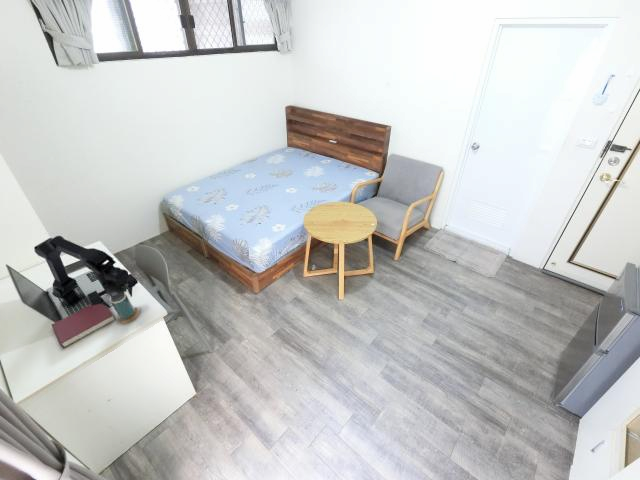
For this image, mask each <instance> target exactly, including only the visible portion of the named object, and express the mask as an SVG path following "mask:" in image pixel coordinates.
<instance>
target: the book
mask: <svg viewBox="0 0 640 480" xmlns="http://www.w3.org/2000/svg"><path fill="white" fill-rule="evenodd" d="M110 309H111V308H108V307H107V306H105V305H103V304H98V305H92V304H91V303H90V304H89V305H88V306H87V305H86V307H84V308H81V309H80V310H77V311H75V312H74V313H71V314H69V315H68V316H66V317H63V318H62V319H60V320H58V321H55V322H54V323H52V324H51V327H52V330H53V332H54V334H55V337H56V339H57V341H58V343H59V345H60V347H61V348H62V349H65V348H67V347H68V346H70V345H72V344H74V343H76V342H78V341H80V340H81V339H84V338H85V337H87V336H89V335H91V334H92V333H94V332H96V331H98V330H99V329H101V328H103V327H106V326H107V325H109V324H110V323H112V322H114V321H116V320H117V319H116V316H114V314H113V312H112V311H111V310H110Z"/></svg>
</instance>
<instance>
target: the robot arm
mask: <svg viewBox="0 0 640 480" xmlns="http://www.w3.org/2000/svg"><path fill="white" fill-rule="evenodd" d="M33 250H34V253H35V254H36V255H37V256H38V257H40V258H43V259H44V260H45V261H46V264H47V266H48V267H49V270H50V272H51V275H52V277H53V279H54V280H53V282H52V288H53V289H52V292H51V295H53V296H54V298H59V299H62V300H63V301H62V302H61V304H63V305H66V306H70V307H73V306H74V305H76V303H77V302H79V301H80V300H82V299H83V298H84V296H83V295H80V294H78V293H77V292H76V290H75V289H76V288H78V282H77V281H76V279H75V278H73V277H72V276H69V274H68V272H67V269H66V266H65V264H64V263H63V260H62V258H61V255H62V253H64V254H66V255H68V256H71V257H73V258H75V259H78V260H80V261H81V263H82V265H83V266H85V267H86V268H87V269H88V270H90V271H92V273H93V274H94V275H95V277H96V279H97V280H98V282H99V284H100V286H101V287H102V288H103V290H101V291H99V292H98V291H97V290H94V291H92V292H90V293H88V294H86V298H87V300H88V302H89V303H90V305H91V304H92V305H98V304H103V305H105V306H107V307H108V308H109V309H111V306H110V304H109V303H108V302H107V300H105V299H104V298H103V297H104V296H107V295H109V297H111V298H112V299H113V300H116V299H117V298H119V297H121V296H123V295H124V292H125V293H126V292H128V295H129V296H130V298H132V297H133V288H134V287H136V285H138V283H139V281H138V279H137V278H136V276H135V275H134V274H133V273H129V272H128V270H126V269H125V268H121V267H117V266H114V265H115V264H116V263H117V261H115V260H114V258H113V257H112V256H111V255H109V254H108V253H107V252H105V251H103V250H100V249H98V248H95V247H94V248H86V247H84V246H82V245H79V244H77V243H75V242H72V241H70V240H68V239H65V238H64V237H63V236H62V235H55V236H54V237H49V238H47V239H45V240H43V241H42V242H40V243H38V244H37V245H35V246H34V247H33Z"/></svg>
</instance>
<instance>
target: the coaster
mask: <svg viewBox="0 0 640 480" xmlns="http://www.w3.org/2000/svg"><path fill="white" fill-rule="evenodd" d="M134 309H135V311H136V314H135V315H134V316H133V317H132V318H131V319H128V320H122V319H121V318H120V317H119V315H117V322H119V323H121V324H127V323H128V324H129V323H131V322H133V321H135V320H136V319H137V318H138V316H139V314H140V310H139V308H137V307H134Z"/></svg>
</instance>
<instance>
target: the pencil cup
mask: <svg viewBox="0 0 640 480" xmlns="http://www.w3.org/2000/svg"><path fill="white" fill-rule="evenodd" d="M109 297H110V298H109V302H110V304H111V305H112V308H113V309H114V310H115V312H116V314H117V316H119V317H120V318H121V319H122V320H128V319H131V318H132V317H133V316H134V315H135V314H136V311H135V309H134V308H135V307H134V306H133V304H132V302H131V300H130V299H129V297H128V295H127V293H126V292H124V295H123V296H121V297H119V298H117V299H116V300H113V299H112V298H111V296H109Z"/></svg>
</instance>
